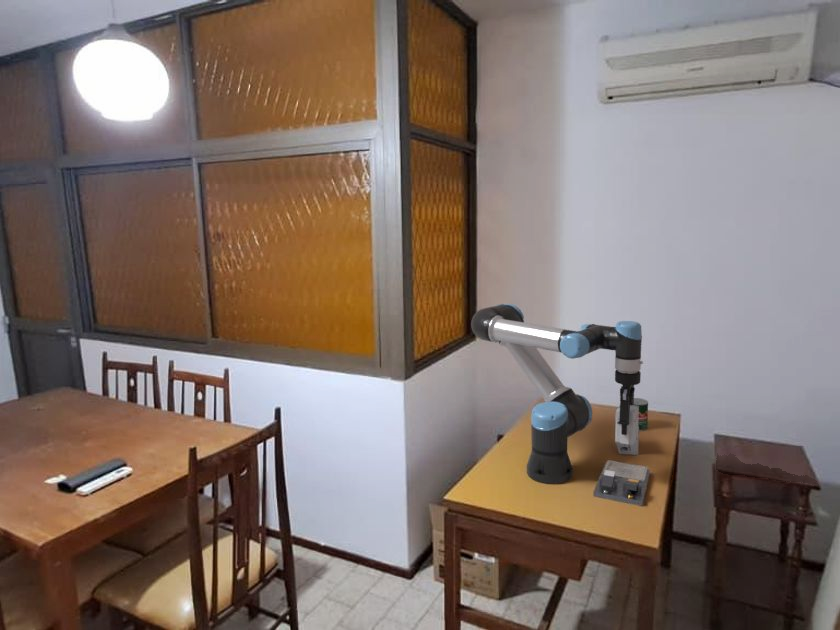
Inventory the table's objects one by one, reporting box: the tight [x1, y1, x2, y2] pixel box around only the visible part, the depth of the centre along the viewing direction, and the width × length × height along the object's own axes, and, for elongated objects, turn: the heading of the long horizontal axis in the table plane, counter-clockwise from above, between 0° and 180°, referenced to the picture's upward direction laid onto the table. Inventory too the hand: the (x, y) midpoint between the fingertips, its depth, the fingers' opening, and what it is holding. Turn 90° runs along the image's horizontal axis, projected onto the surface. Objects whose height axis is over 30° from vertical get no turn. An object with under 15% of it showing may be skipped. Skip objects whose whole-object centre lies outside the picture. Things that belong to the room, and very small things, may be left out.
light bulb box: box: [614, 415, 640, 456], centre depth 195 cm, size 11×7×11 cm, turn 168°
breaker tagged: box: [626, 479, 639, 491], centre depth 162 cm, size 7×3×2 cm, turn 151°
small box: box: [614, 405, 639, 445], centre depth 171 cm, size 8×6×10 cm
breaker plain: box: [601, 470, 615, 491], centre depth 166 cm, size 7×3×2 cm, turn 152°
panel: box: [592, 459, 651, 507], centre depth 169 cm, size 22×14×4 cm, turn 152°
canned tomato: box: [634, 397, 649, 432], centre depth 214 cm, size 8×8×11 cm
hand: (626, 438), depth 172 cm, fingers closed on small box, 8 cm apart
